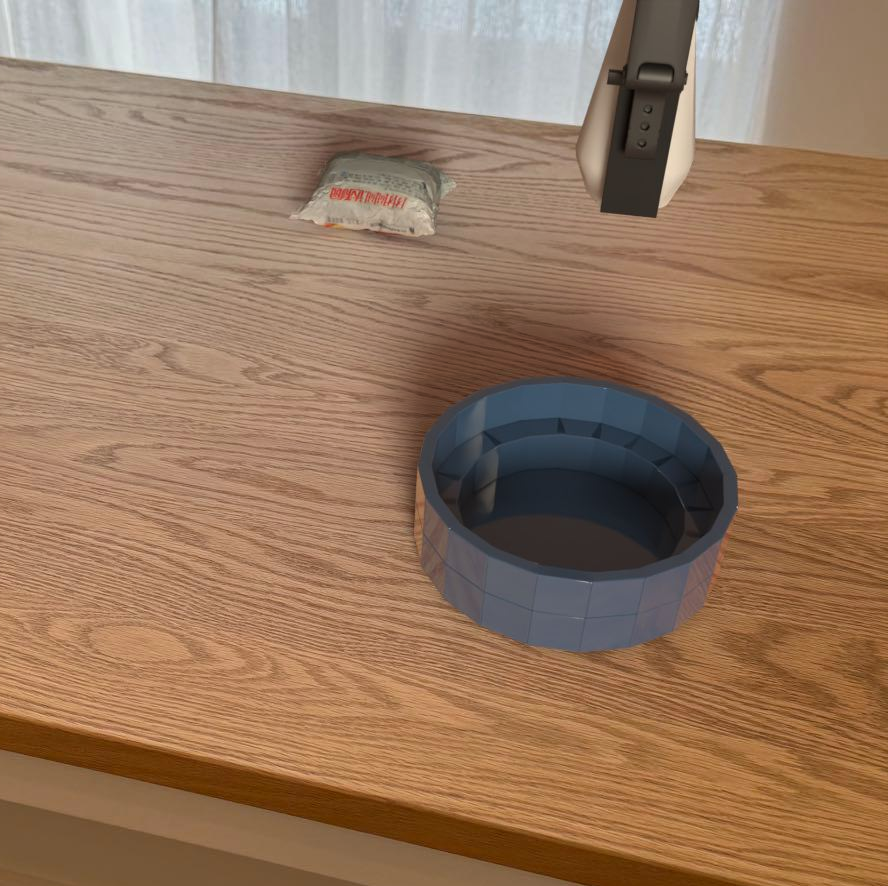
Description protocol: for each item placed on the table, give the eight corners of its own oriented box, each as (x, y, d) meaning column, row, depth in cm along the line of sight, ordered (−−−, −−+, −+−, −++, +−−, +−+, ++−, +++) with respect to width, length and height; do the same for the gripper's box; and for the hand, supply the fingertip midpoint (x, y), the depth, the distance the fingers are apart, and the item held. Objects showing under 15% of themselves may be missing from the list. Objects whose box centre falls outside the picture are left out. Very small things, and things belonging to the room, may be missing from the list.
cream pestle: (673, 232, 61) (731, -48, 52) (559, 211, 62) (595, -64, 53) (693, 178, 65) (749, -90, 56) (585, 160, 66) (622, -104, 57)
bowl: (714, 471, 78) (734, 395, 74) (717, 682, 66) (742, 604, 62) (438, 436, 81) (443, 360, 77) (391, 632, 68) (394, 554, 64)
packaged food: (434, 259, 97) (437, 201, 94) (288, 239, 99) (287, 181, 96) (455, 207, 103) (459, 151, 100) (318, 189, 105) (318, 134, 102)
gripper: (638, -421, 54) (571, 96, 70) (615, -352, 41) (538, 268, 57) (817, -416, 53) (707, 108, 69) (853, -343, 40) (706, 286, 56)
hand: (631, 179), depth 63 cm, fingers closed on cream pestle, 6 cm apart
